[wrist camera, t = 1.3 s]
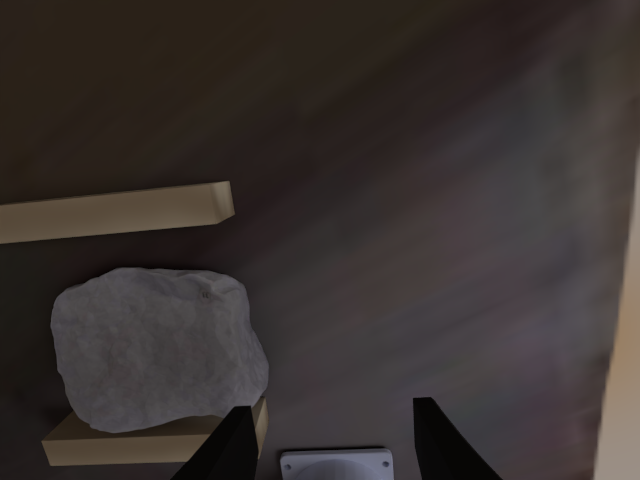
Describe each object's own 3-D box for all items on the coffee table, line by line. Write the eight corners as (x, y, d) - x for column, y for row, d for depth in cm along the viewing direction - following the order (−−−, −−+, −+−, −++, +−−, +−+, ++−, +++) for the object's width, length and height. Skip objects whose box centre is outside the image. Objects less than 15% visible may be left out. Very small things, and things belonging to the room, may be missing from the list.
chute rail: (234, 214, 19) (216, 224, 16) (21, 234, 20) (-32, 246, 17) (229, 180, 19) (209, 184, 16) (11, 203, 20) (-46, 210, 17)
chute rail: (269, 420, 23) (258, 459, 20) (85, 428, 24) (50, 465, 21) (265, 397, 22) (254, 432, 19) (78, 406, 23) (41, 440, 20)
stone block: (92, 272, 23) (118, 406, 23) (26, 283, 18) (60, 453, 18) (252, 244, 22) (277, 383, 22) (228, 248, 17) (260, 426, 18)
